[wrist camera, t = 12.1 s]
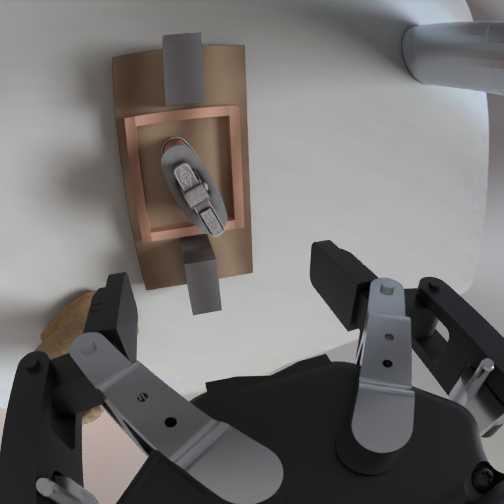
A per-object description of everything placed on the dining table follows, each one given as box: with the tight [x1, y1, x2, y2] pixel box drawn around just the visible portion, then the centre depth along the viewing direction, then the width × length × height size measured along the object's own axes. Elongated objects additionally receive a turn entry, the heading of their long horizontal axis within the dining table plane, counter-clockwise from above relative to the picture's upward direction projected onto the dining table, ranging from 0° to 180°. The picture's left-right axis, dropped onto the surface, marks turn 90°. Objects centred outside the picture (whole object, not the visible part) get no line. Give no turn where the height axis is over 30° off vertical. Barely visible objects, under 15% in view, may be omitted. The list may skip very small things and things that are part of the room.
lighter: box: [161, 136, 228, 237], centre depth 25 cm, size 8×3×10 cm, turn 24°
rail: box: [112, 33, 253, 315], centre depth 28 cm, size 13×26×8 cm, turn 1°
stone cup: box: [35, 291, 138, 424], centre depth 29 cm, size 15×12×15 cm
